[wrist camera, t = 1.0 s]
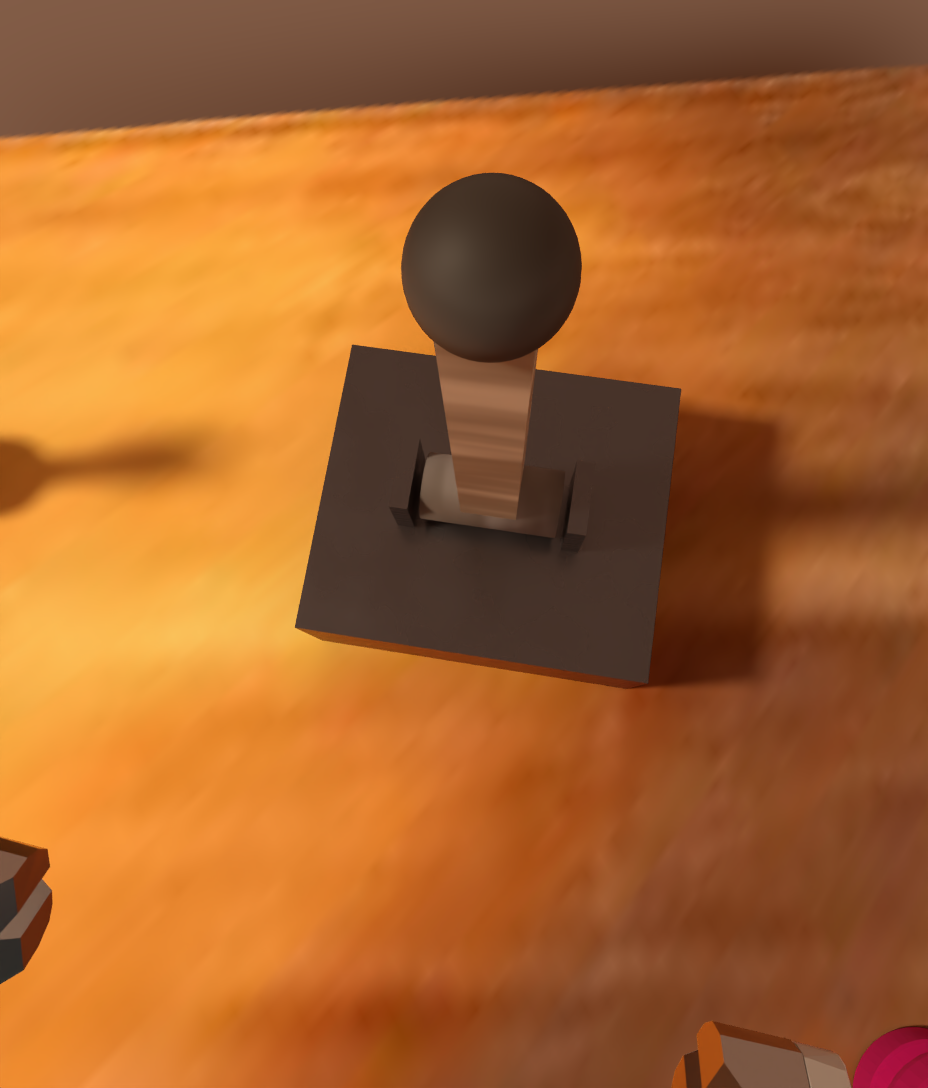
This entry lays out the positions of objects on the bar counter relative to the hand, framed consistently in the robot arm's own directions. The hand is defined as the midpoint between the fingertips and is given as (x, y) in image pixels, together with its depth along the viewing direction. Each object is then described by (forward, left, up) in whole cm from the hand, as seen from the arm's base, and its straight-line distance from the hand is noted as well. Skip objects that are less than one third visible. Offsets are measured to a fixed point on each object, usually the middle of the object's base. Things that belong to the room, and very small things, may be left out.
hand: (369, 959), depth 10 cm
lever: (-4, -12, -26) cm, 29 cm away
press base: (-4, -12, -32) cm, 35 cm away
